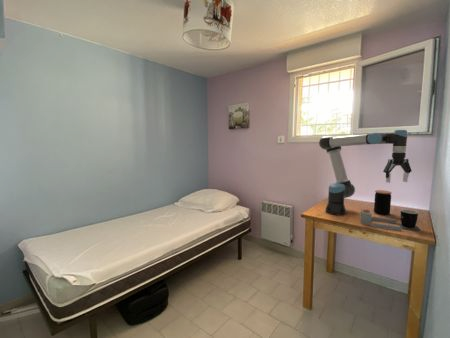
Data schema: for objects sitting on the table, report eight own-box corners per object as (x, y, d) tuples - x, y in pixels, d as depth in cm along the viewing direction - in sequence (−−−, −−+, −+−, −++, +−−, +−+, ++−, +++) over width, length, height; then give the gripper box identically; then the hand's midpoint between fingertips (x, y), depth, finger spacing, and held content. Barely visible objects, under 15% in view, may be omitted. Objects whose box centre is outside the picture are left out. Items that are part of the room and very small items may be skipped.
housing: (361, 225, 156) (362, 214, 155) (360, 218, 170) (360, 208, 169) (401, 230, 146) (402, 218, 145) (396, 223, 160) (397, 212, 159)
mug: (398, 223, 158) (399, 208, 157) (415, 225, 154) (416, 210, 152) (401, 228, 148) (402, 213, 147) (419, 231, 143) (420, 215, 142)
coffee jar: (392, 216, 175) (394, 193, 173) (377, 215, 177) (378, 192, 175) (385, 211, 185) (387, 190, 183) (371, 211, 187) (372, 189, 185)
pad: (401, 229, 149) (401, 228, 149) (398, 224, 158) (398, 223, 158) (421, 231, 144) (421, 230, 144) (416, 226, 153) (416, 225, 153)
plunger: (362, 217, 160) (363, 210, 160) (362, 215, 164) (362, 208, 163) (369, 217, 158) (369, 211, 158) (368, 216, 162) (369, 209, 161)
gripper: (387, 152, 153) (385, 183, 155) (419, 152, 156) (417, 182, 158) (378, 152, 160) (376, 181, 163) (409, 151, 163) (407, 180, 166)
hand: (396, 182), depth 160 cm, fingers open, 13 cm apart
